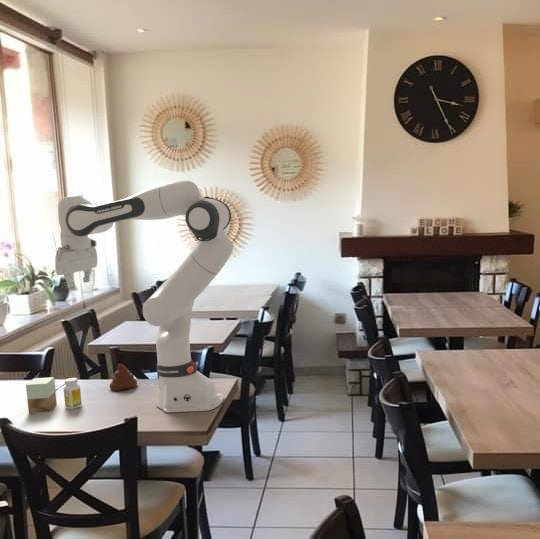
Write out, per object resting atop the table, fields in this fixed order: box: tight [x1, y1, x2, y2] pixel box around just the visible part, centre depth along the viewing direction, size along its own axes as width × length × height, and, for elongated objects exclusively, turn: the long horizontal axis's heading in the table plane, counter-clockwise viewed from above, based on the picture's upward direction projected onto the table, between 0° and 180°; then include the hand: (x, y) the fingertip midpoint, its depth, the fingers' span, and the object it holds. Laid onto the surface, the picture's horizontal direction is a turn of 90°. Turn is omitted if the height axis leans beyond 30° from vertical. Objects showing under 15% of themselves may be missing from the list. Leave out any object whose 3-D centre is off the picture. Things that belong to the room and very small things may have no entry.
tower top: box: [25, 376, 56, 399], centre depth 197 cm, size 7×7×5 cm
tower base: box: [26, 391, 57, 414], centre depth 198 cm, size 7×7×5 cm
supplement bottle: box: [63, 377, 82, 410], centre depth 198 cm, size 5×5×10 cm
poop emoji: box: [109, 363, 138, 392], centre depth 215 cm, size 10×8×9 cm
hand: (79, 284), depth 197 cm, fingers open, 8 cm apart
